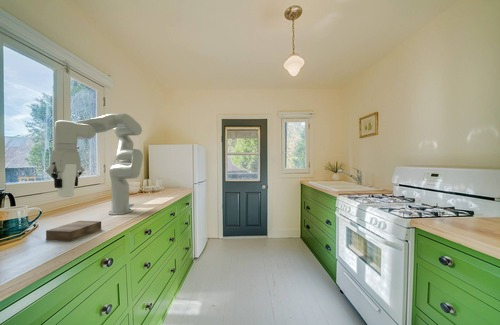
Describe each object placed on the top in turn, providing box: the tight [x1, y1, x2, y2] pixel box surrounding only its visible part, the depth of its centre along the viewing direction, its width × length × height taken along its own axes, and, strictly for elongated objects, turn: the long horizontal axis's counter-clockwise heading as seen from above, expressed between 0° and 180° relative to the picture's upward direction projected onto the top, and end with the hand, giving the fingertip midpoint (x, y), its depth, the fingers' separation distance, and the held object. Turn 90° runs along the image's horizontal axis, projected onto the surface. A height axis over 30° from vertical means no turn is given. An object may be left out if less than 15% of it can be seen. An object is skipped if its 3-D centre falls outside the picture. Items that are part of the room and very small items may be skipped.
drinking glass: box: [57, 164, 77, 198], centre depth 89 cm, size 7×7×15 cm
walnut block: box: [45, 220, 102, 242], centre depth 87 cm, size 14×12×4 cm
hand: (66, 186), depth 89 cm, fingers closed on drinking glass, 6 cm apart
